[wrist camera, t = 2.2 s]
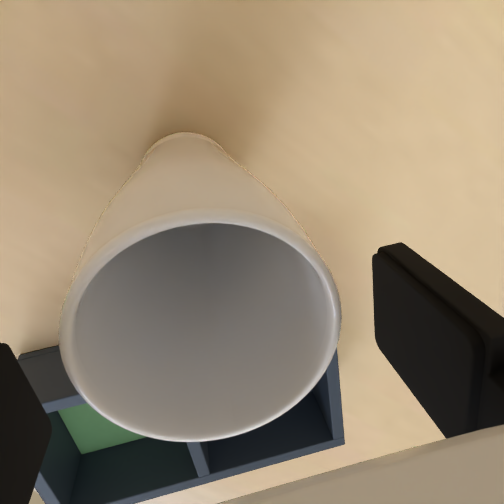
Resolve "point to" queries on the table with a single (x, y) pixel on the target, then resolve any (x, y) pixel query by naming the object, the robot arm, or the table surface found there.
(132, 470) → the glass rack
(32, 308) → the table surface
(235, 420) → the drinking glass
